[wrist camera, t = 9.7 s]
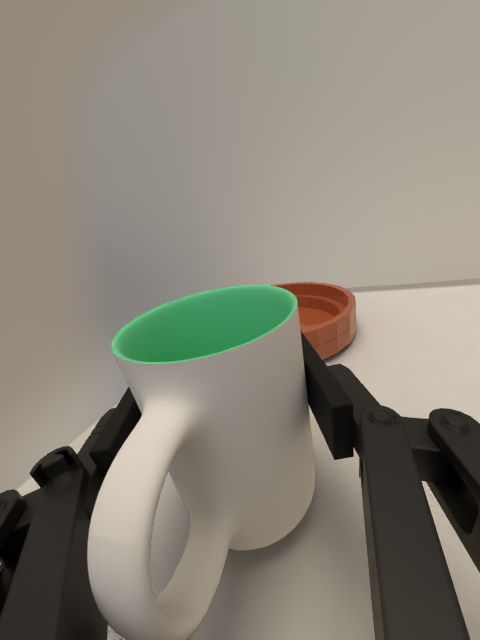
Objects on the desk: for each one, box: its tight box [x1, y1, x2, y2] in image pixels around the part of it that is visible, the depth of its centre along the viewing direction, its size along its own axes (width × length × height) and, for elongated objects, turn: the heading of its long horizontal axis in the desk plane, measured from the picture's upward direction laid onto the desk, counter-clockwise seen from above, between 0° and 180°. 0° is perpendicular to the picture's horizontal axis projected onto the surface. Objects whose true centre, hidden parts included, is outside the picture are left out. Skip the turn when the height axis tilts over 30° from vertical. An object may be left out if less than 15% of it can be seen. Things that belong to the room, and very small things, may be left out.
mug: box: [87, 285, 316, 640], centre depth 11 cm, size 12×8×10 cm
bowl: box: [271, 282, 356, 360], centre depth 34 cm, size 21×21×4 cm
